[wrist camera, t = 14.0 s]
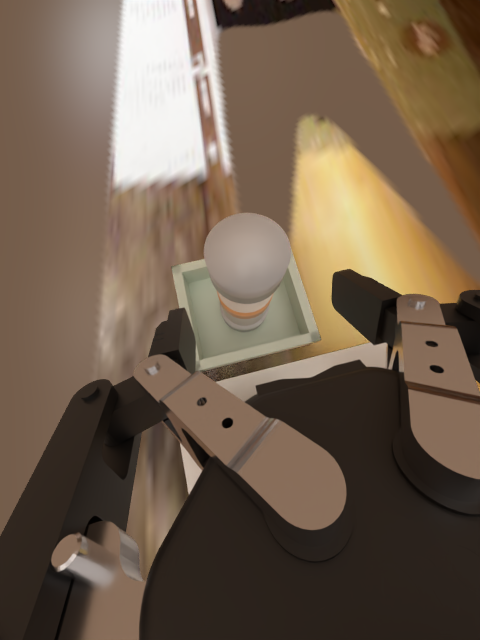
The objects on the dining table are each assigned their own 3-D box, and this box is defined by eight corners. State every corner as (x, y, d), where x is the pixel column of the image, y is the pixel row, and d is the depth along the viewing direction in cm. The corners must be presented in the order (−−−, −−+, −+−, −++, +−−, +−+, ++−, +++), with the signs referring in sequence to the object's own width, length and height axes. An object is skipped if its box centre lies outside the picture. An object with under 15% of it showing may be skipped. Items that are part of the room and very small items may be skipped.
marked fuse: (259, 284, 23) (277, 205, 12) (271, 326, 22) (302, 280, 11) (217, 294, 23) (196, 222, 12) (227, 337, 22) (214, 300, 11)
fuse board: (416, 330, 22) (448, 322, 19) (474, 463, 20) (523, 482, 16) (174, 392, 21) (161, 395, 18) (201, 543, 18) (191, 582, 15)
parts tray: (282, 256, 24) (288, 240, 21) (310, 344, 22) (321, 339, 19) (180, 280, 24) (171, 266, 21) (198, 372, 21) (191, 372, 18)
